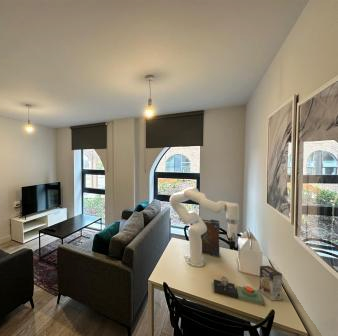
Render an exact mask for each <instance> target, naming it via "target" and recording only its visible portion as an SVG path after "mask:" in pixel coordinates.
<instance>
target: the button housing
mask: <svg viewBox="0 0 338 336" xmlns="http://www.w3.org/2000/svg"><path fill="white" fill-rule="evenodd" d="M245 287H246V286H240V285H235V289H236V292H237V299H238V300H239V301H244V302H248V303H251V304H252V303H253V304H256V305H260V306H264V302H265V301H264V299H263V297H262V295H261V293H260V292H261V291H260V290H257V289H254V288H253V293H249V292H247V291H245Z"/></svg>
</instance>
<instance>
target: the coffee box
mask: <svg viewBox="0 0 338 336" xmlns="http://www.w3.org/2000/svg"><path fill="white" fill-rule="evenodd" d="M282 288H283V274H282V272H280V271H278V270H277V269H275V268H273V267H272V266H270V265H262V266H260V276H259V292H261V293H262V294H264V296H266V297H267V298H268V299H269V300H270V301H280V300H282V292H283V291H282Z"/></svg>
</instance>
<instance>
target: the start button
mask: <svg viewBox="0 0 338 336" xmlns="http://www.w3.org/2000/svg"><path fill="white" fill-rule="evenodd" d="M244 287H245V291H247V292H249V293H253V289H254V288H253V287H251V286H250V285H246V286H244Z"/></svg>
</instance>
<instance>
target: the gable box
mask: <svg viewBox="0 0 338 336" xmlns="http://www.w3.org/2000/svg"><path fill="white" fill-rule="evenodd" d="M237 260H238V268H239V272H241V273H245V274H248V275H249V274H250V275H254V276H257V277H260V266H263V251H262V248H261V246H260V243H259V241H258V239H257V238H256V237H255V236H254V234H253V233H252V231H250V228H249V227H248V228H247V229H245V231H244V233H243V234H241V235H240V236H239V237H237Z"/></svg>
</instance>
